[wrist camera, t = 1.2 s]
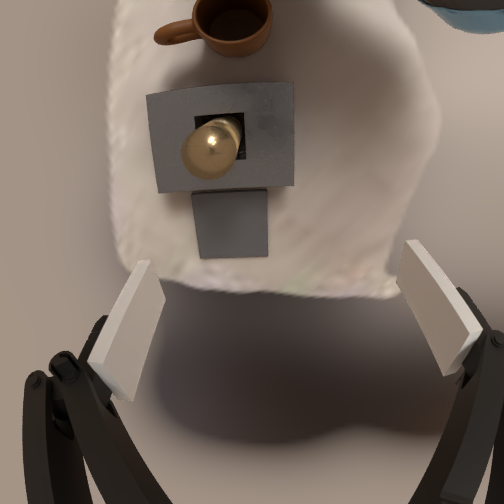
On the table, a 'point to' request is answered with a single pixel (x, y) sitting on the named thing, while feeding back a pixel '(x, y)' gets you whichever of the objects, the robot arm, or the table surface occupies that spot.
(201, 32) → the mug
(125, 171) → the table surface
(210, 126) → the gold metal cylinder
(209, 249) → the mat
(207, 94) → the housing
